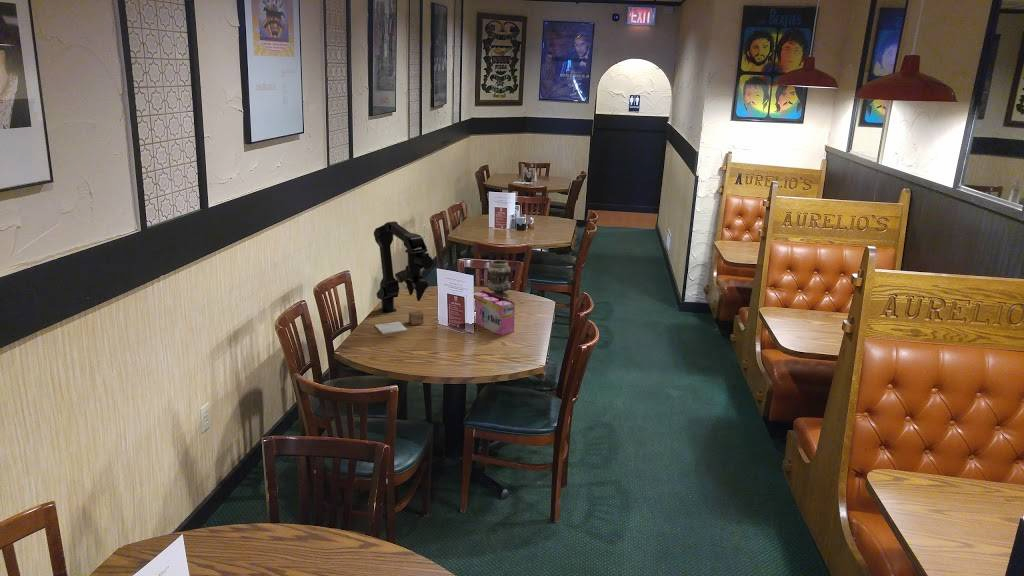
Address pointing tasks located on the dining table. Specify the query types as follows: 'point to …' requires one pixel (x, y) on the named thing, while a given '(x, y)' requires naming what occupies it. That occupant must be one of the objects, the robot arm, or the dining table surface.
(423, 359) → the dining table surface
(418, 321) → the walnut cube
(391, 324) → the mat
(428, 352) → the dining table surface
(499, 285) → the apothecary jar
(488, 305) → the gum box
